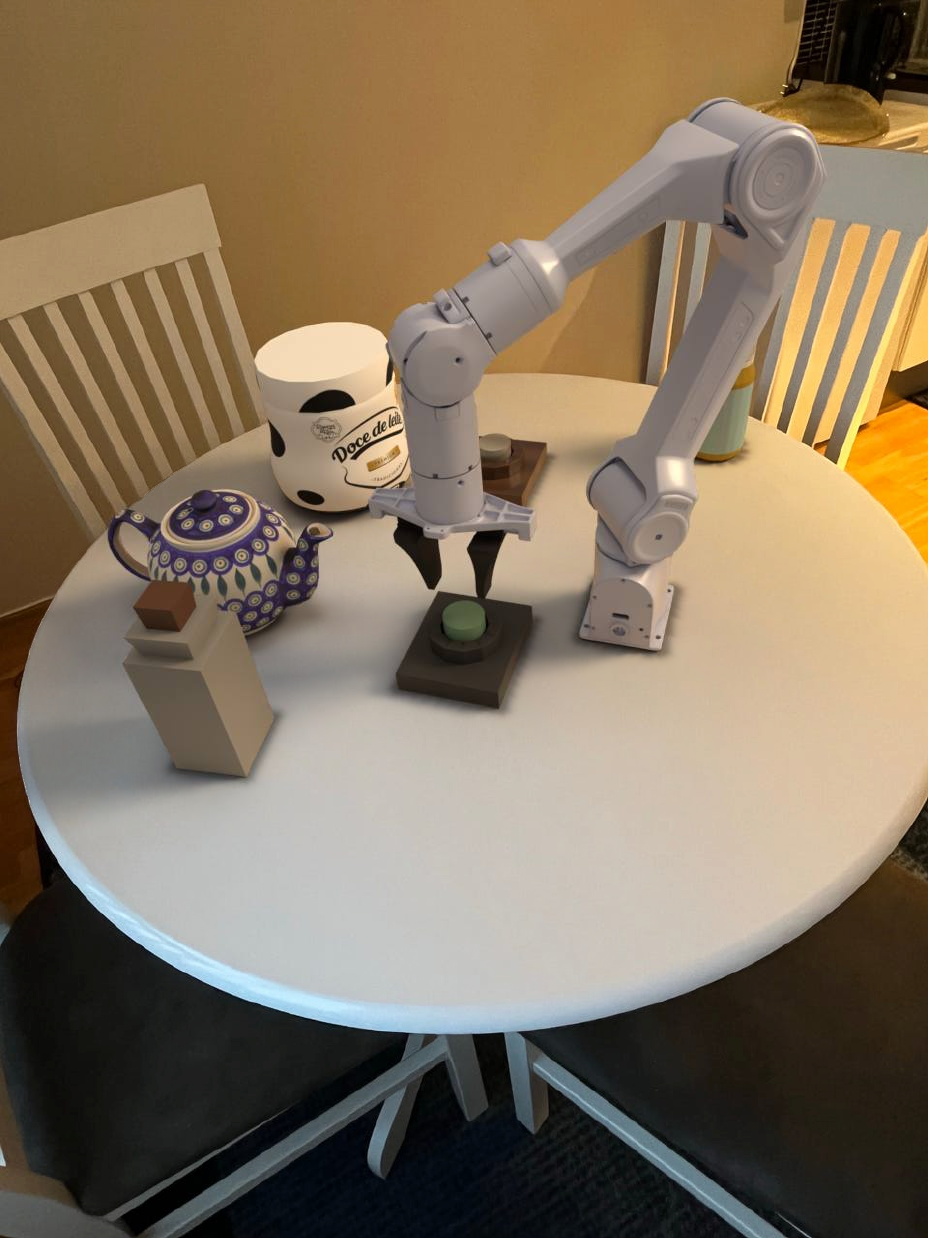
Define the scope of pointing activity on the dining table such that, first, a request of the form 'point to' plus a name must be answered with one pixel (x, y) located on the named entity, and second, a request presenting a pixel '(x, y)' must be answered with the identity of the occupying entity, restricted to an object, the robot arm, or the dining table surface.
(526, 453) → the push button back
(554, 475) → the dining table surface
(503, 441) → the grey button cap
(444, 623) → the green button cap
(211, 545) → the teapot
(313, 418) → the doce de leite jar
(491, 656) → the push button front
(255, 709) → the perfume bottle
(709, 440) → the bottle
